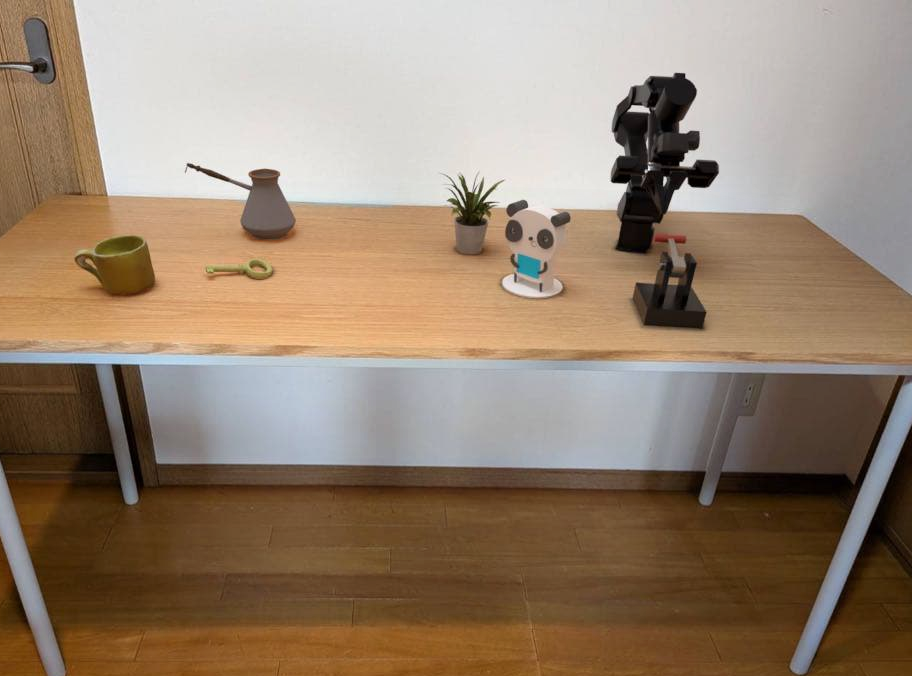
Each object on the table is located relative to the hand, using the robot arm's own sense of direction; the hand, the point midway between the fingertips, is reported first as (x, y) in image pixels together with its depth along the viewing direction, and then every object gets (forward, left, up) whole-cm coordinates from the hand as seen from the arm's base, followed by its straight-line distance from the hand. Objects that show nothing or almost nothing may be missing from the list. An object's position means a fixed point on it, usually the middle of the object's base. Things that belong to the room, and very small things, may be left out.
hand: (663, 213), depth 138 cm
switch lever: (+4, -10, -5) cm, 12 cm away
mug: (-86, -49, -14) cm, 100 cm away
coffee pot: (-82, -16, -14) cm, 85 cm away
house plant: (-38, -2, -14) cm, 41 cm away
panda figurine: (-20, -13, -14) cm, 28 cm away
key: (-71, -34, -14) cm, 80 cm away
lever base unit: (+5, -14, -13) cm, 20 cm away
